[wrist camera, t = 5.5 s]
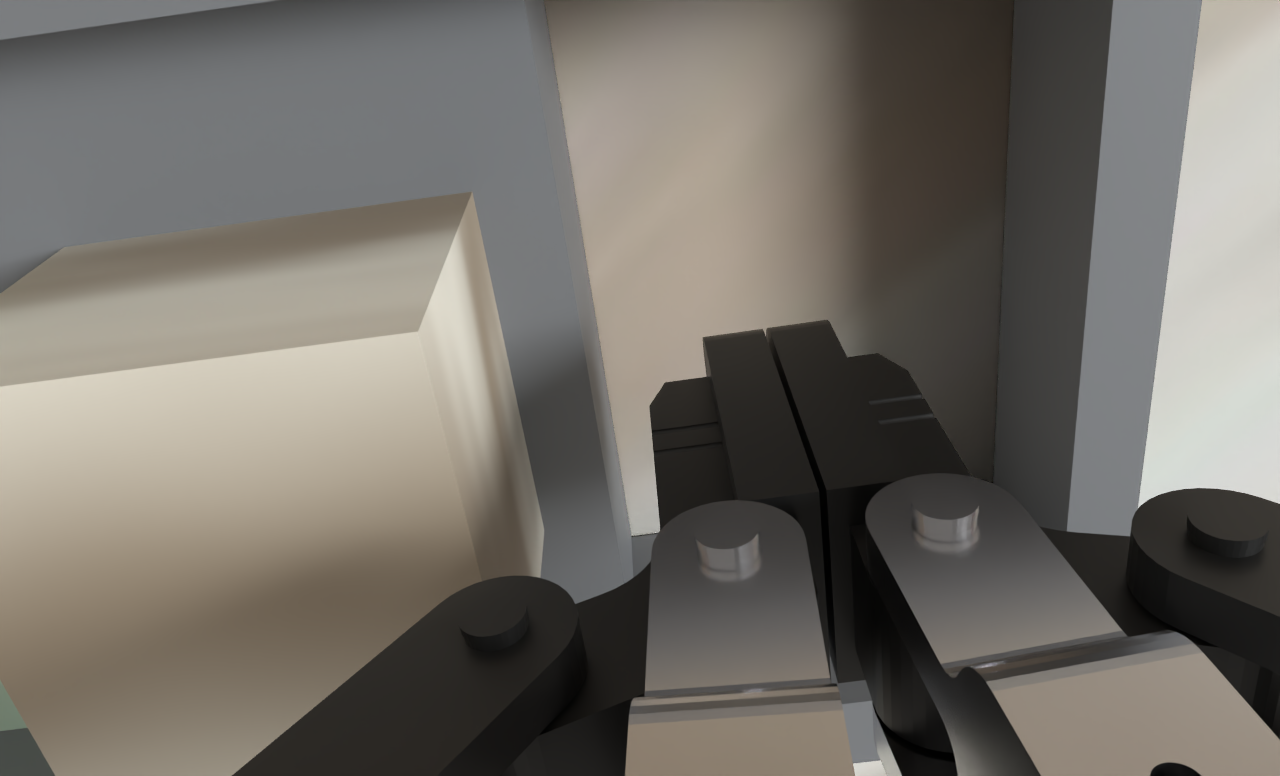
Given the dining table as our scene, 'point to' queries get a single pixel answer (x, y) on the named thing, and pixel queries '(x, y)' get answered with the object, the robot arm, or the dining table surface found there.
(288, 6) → the trap lane
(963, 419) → the dining table surface
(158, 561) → the block
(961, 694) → the robot arm
